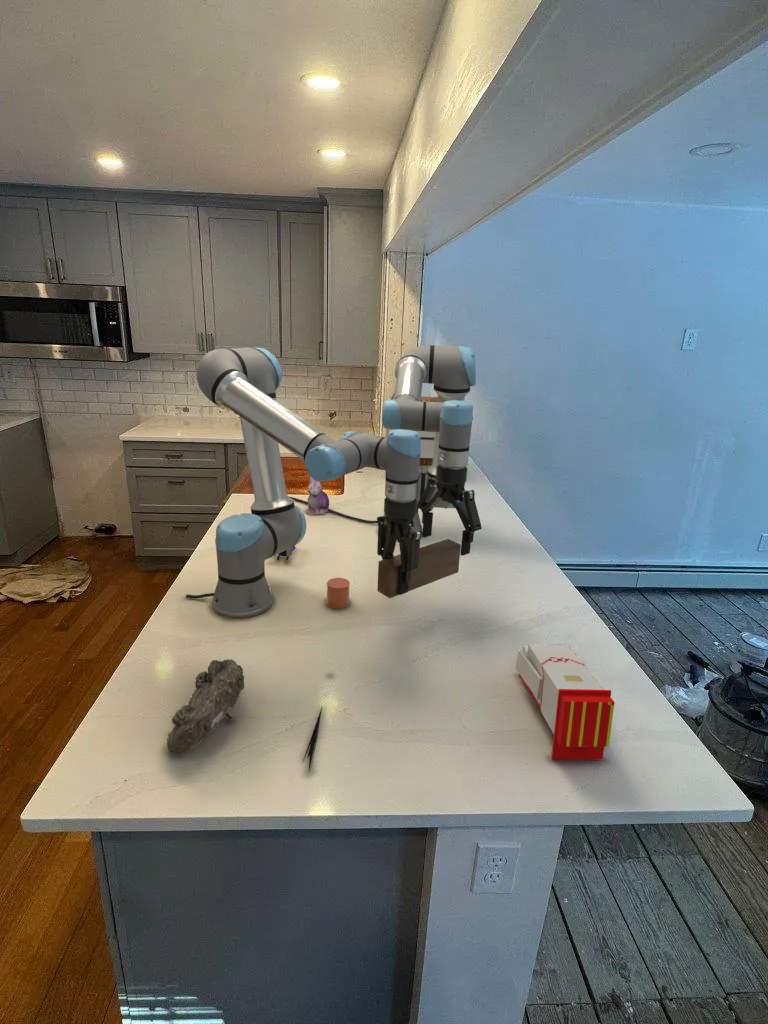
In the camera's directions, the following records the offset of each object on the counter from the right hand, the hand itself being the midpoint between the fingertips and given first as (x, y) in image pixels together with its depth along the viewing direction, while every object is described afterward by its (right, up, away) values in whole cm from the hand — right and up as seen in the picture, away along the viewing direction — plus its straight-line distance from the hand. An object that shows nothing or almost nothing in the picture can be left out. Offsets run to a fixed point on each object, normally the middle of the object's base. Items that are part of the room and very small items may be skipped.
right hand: (445, 544), depth 146 cm
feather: (-28, -31, -37) cm, 56 cm away
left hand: (-13, -10, -8) cm, 18 cm away
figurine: (-41, +9, +72) cm, 83 cm away
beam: (-7, -9, -3) cm, 12 cm away
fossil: (-49, -31, -38) cm, 69 cm away
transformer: (+1, +27, +129) cm, 132 cm away
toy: (+18, -31, -32) cm, 48 cm away
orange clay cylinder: (-28, -16, +6) cm, 33 cm away
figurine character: (-47, -5, +33) cm, 58 cm away
